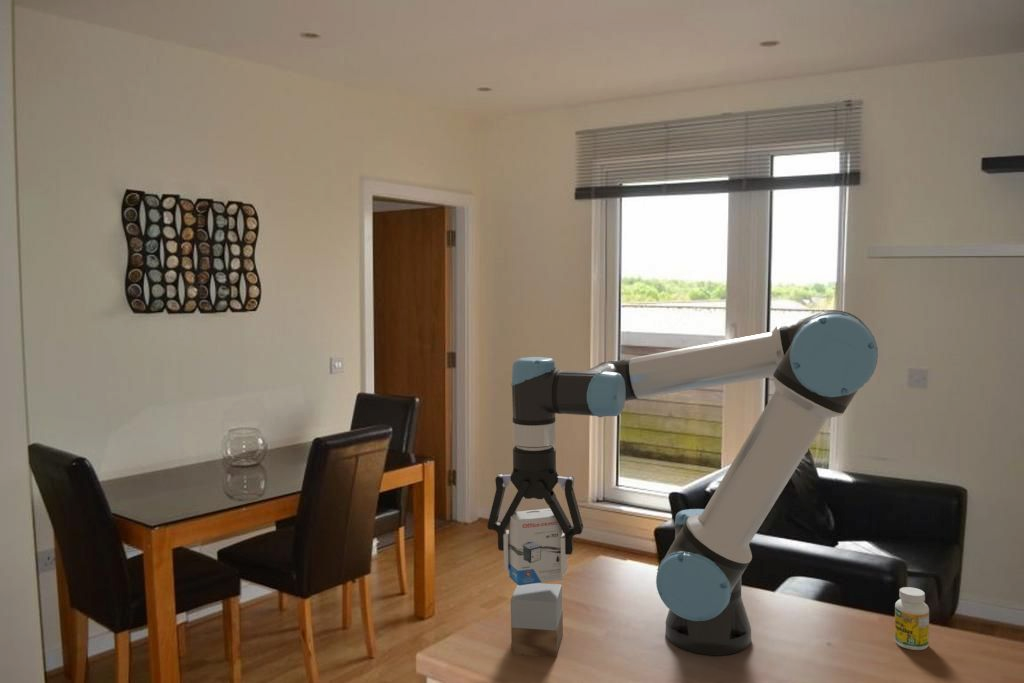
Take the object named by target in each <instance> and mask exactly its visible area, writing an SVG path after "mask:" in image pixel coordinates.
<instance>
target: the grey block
mask: <svg viewBox="0 0 1024 683" xmlns="http://www.w3.org/2000/svg"><path fill="white" fill-rule="evenodd" d="M562 611H563V585H562V584H559V583H558V584H557V583H544V582H542V583H534V584H526V585H517V584H516V586H515V589H514V591H513V593H512V595H511V598H510V628H511V627H512V628H527V629H542V630H557V627H558V624H559V620H560V617H561V613H562Z"/></svg>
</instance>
